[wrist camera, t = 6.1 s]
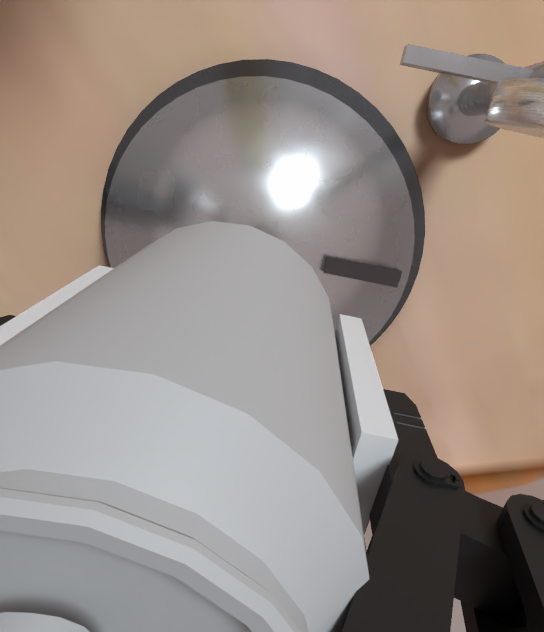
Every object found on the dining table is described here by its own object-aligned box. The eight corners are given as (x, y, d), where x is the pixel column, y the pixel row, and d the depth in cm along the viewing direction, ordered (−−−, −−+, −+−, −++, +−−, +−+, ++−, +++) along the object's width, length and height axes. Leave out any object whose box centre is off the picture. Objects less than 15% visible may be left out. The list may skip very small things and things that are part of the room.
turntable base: (102, 345, 33) (95, 352, 32) (117, 29, 25) (109, 24, 24) (371, 399, 33) (373, 408, 32) (466, 101, 25) (474, 99, 24)
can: (142, 411, 18) (-133, 867, 7) (107, 220, 15) (-459, 455, 4) (332, 411, 17) (381, 916, 6) (333, 211, 14) (422, 464, 3)
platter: (108, 344, 31) (60, 395, 25) (124, 48, 24) (64, 19, 18) (364, 396, 31) (378, 458, 25) (451, 115, 24) (499, 108, 18)
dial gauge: (361, 123, 26) (416, 110, 13) (382, 37, 24) (469, -77, 11) (495, 151, 26) (683, 165, 13) (525, 67, 24) (775, -13, 11)
